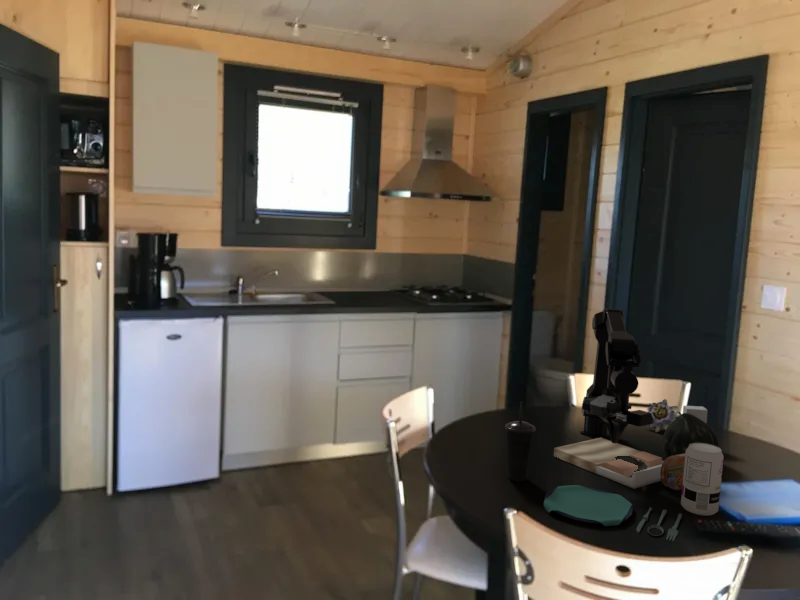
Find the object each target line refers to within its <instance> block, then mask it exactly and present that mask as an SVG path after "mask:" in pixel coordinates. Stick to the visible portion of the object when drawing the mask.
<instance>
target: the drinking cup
mask: <svg viewBox="0 0 800 600" xmlns="http://www.w3.org/2000/svg"><path fill="white" fill-rule="evenodd" d="M519 406H520V407H519V420H514V421H510V422H507V423H505V426H504V428H505V431H506V434H505V435H506V436H505V438H506V464H507V465H506V467H507V468H506V470H507V479H508V478H509V480H510V481H512V480H513V482H525V481H527V478H528V472H529V465H530V460H531V459H530V458H531V455H532V454H531V453H532V447H533V441H534V436H535V435H534V434H535V431H536V426H535V425H533V424H531V423H529V422H527V421H524V420H523V410H524V401H520V405H519Z"/></svg>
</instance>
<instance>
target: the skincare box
mask: <svg viewBox="0 0 800 600" xmlns="http://www.w3.org/2000/svg"><path fill="white" fill-rule="evenodd" d="M682 408H683V409H682V414H683V413H689V414H691V415H694V416H696V417H697V418H699V419H701V420H702V421H704V422H705V423H707V422H708V409H707V408H706V407H704V406H701V405H700V406H696V405H683V407H682ZM707 424H708V423H707Z"/></svg>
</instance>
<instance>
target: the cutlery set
mask: <svg viewBox="0 0 800 600" xmlns="http://www.w3.org/2000/svg"><path fill="white" fill-rule="evenodd" d="M632 506H633V504H632V503H631V502H630V501H629V500H628V499H627V498H625V497H623V495H620V494H618V493H612V492H609V491H605V490H602V489H598V488H594V487H588V486H582V485H579V484H576V485H575V484H572V485H571V484H570V485H565V484H564V485H560V486H559V485H558V486H556V487H555V488H552V489H550V490H549V491H547V492H546V493H545V495H544V501H543V507H544V509H545V511H546V512H547V513H548V514H550V512H552V511H554V512H555V513H557V514H559V515H561V516H562V517H565V518H568V519H571V520H574V521H577V522H584V523H587V524H597V525H598V524H599V525H603V526H604V527H612V526H615V527H616V526H619V525H621V523H622V522H625V521H627V520H629V519H630V517H632V516H633V513H634V511H633V510H634V508H633V507H632ZM651 511H652V512H653V507H650V506H649V508H648V510H647V512H646V513H645V514H644V515H643V516H642V517H641V520H640V522H638V525H637V527H636V528H635V529H636V533H637V534H639V533H640V532H641V530H642V528H643V526H644V525H645V522H648V519H649V515H650V513H651ZM667 511H668V510H667V509H662V512H661V515H660V517H659V519H658V522H657V524H653V525H649V526H648V527H647V533H650V530H651V529H659V530H660V531H661V532H662V533H661V534H657V535H655V534H652V536H655V537H658V536H659V537H660V536H662V535H663V534H664V531H665V530H664V528H663V527H662V526H661V523H662V521H663V519H664V518H665V516H666V514H667V513H668V512H667ZM682 518H683V514H682V513H679V512H678V515H677V518H676V521H675V522H674V525H672V526H671V527H670V528H668V531H667V535H666V539H665V541H668V539H669V541H670V542H671V541H672V542H674V541H675V539H676V538H677V536H678V535H679V530H678V526H679V525H680V521H681V519H682Z"/></svg>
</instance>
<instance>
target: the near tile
mask: <svg viewBox="0 0 800 600" xmlns="http://www.w3.org/2000/svg"><path fill="white" fill-rule="evenodd" d="M605 468H606V469H608V470H611V471H613V472H616V473H619V474H621V475H624V476H626V477H630V475H631V474H632V473H633V472H634V471H636V470H637V469H638V465H635V464H633V463H630V462H627V461H624V460H622V459H617V460H613V461H609V462H605Z"/></svg>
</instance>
